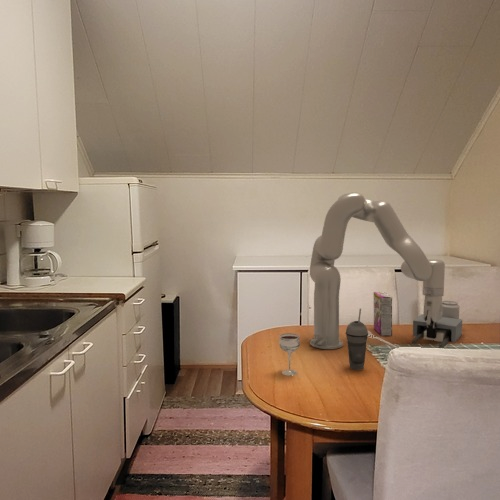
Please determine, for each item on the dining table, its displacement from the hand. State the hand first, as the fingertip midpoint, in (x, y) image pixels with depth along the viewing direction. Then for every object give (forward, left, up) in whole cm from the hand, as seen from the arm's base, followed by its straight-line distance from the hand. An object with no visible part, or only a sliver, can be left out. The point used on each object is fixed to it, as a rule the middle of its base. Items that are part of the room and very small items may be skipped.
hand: (431, 337), depth 164 cm
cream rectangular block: (+7, 0, -2) cm, 7 cm away
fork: (-10, +16, -2) cm, 19 cm away
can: (+22, -2, -2) cm, 22 cm away
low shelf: (+5, 0, -2) cm, 5 cm away
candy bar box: (+2, +20, -2) cm, 20 cm away
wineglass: (-58, +29, -2) cm, 65 cm away
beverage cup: (-42, +13, -2) cm, 44 cm away
